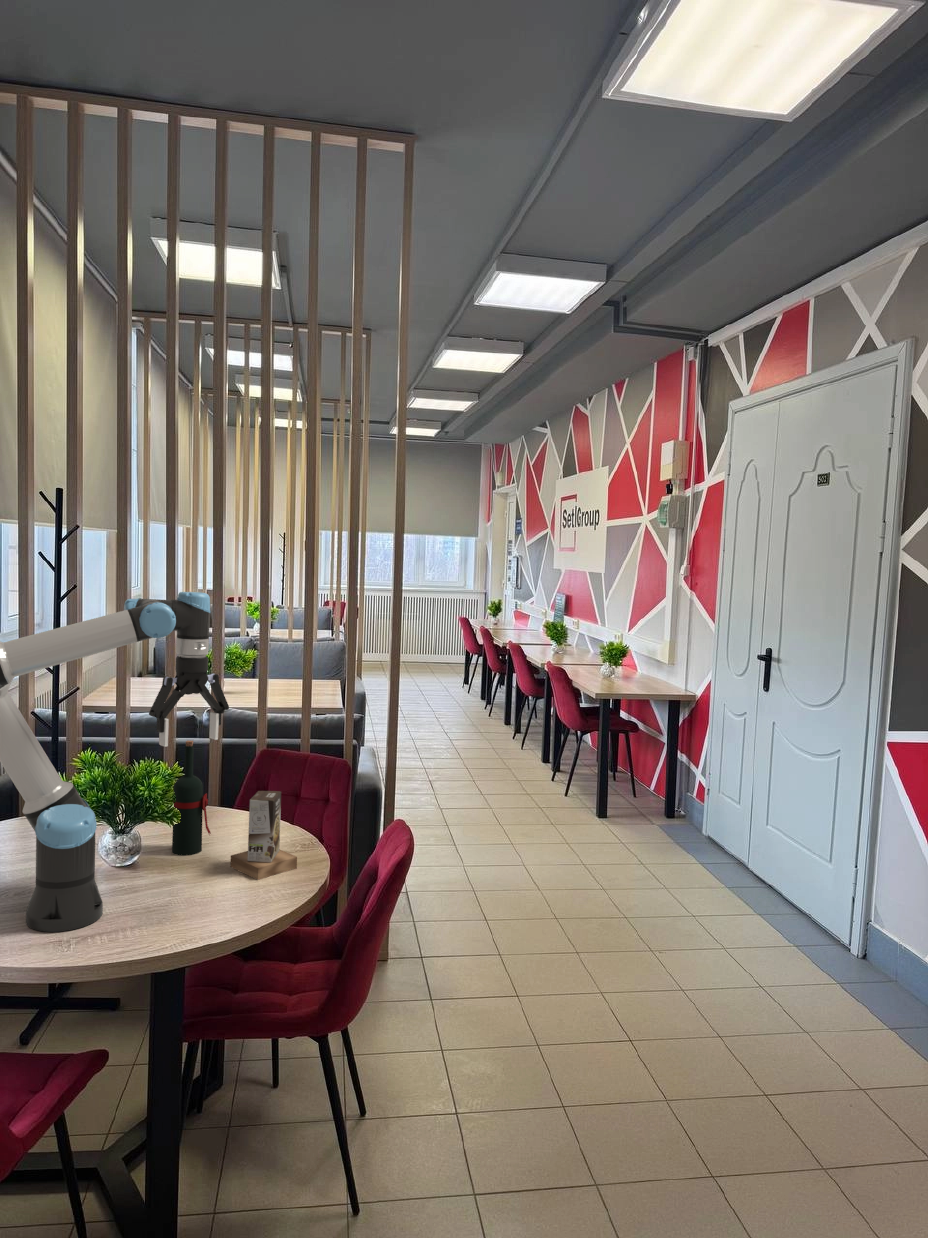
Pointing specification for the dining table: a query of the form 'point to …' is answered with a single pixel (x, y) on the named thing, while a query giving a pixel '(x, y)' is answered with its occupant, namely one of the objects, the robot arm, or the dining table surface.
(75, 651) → the robot arm
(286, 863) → the block
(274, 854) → the coffee box
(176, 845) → the wine bottle
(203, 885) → the dining table surface
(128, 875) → the dining table surface
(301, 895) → the dining table surface
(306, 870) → the dining table surface
